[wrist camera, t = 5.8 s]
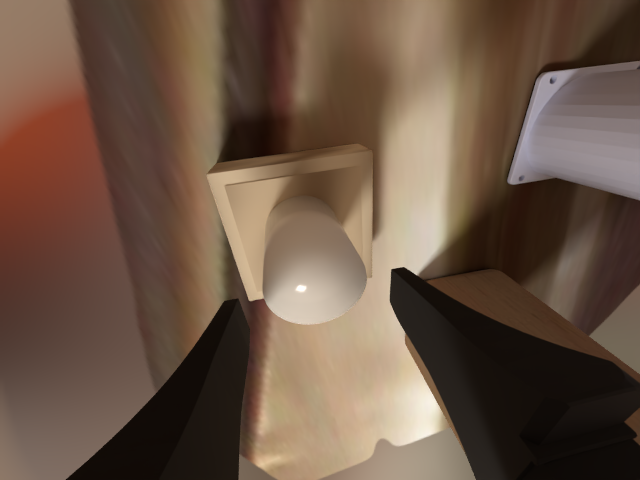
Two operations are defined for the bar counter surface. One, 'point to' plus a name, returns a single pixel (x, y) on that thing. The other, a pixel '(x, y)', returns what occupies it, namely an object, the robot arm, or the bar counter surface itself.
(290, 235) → the white rounded cylinder
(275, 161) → the base
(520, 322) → the wooden block
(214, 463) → the robot arm
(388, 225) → the bar counter surface
